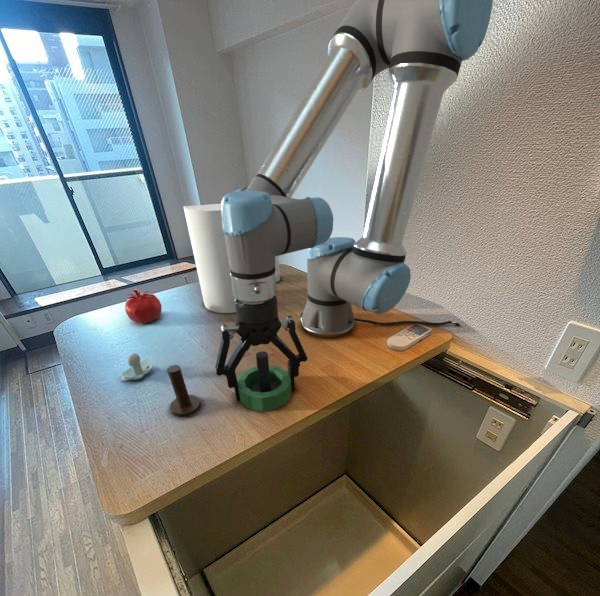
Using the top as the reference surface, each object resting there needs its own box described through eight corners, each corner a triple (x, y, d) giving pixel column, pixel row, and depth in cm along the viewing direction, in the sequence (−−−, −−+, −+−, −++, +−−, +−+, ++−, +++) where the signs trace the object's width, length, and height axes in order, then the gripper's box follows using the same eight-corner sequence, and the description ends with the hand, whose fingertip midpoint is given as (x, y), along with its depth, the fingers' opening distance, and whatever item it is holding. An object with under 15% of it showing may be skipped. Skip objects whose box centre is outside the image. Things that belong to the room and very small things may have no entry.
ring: (284, 374, 77) (283, 361, 74) (296, 404, 68) (296, 391, 66) (236, 382, 74) (234, 369, 72) (243, 415, 66) (241, 401, 64)
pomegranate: (170, 317, 99) (162, 287, 93) (140, 330, 94) (129, 299, 87) (153, 308, 104) (143, 279, 98) (123, 319, 98) (111, 289, 92)
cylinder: (262, 308, 103) (252, 207, 85) (206, 316, 99) (184, 212, 81) (252, 288, 116) (242, 196, 97) (202, 294, 112) (182, 200, 94)
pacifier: (116, 381, 76) (135, 387, 73) (104, 358, 72) (124, 364, 69) (140, 364, 81) (158, 369, 78) (130, 342, 77) (149, 347, 74)
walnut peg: (200, 396, 71) (189, 357, 64) (201, 414, 67) (189, 374, 60) (171, 401, 70) (157, 362, 63) (170, 419, 65) (155, 380, 59)
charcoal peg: (276, 382, 74) (273, 344, 68) (282, 399, 70) (279, 360, 63) (250, 387, 73) (244, 349, 67) (254, 404, 69) (249, 365, 62)
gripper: (186, 314, 52) (211, 413, 66) (326, 296, 57) (321, 393, 71) (185, 295, 57) (209, 391, 72) (313, 281, 62) (311, 373, 76)
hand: (265, 392), depth 71 cm, fingers closed on ring, 11 cm apart
